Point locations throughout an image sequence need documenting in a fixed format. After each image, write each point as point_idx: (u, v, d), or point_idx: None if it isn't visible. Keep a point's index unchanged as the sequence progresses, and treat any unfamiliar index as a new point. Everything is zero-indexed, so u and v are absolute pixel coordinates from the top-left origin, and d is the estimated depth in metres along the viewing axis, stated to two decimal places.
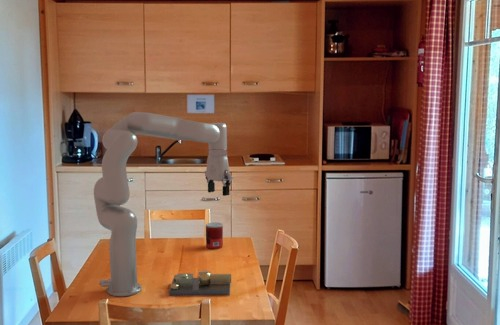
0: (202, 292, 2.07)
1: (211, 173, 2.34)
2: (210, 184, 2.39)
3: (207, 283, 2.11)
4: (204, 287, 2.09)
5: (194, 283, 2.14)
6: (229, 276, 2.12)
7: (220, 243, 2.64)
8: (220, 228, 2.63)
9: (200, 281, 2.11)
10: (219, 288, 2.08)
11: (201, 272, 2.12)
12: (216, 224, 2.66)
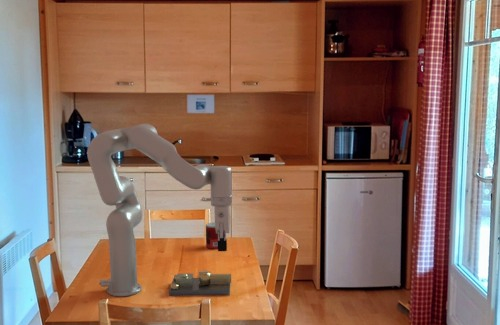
0: (202, 292, 2.07)
1: None
2: None
3: (207, 283, 2.11)
4: (204, 287, 2.09)
5: (194, 283, 2.14)
6: (229, 276, 2.12)
7: None
8: None
9: (200, 281, 2.11)
10: (219, 288, 2.08)
11: (201, 272, 2.12)
12: None
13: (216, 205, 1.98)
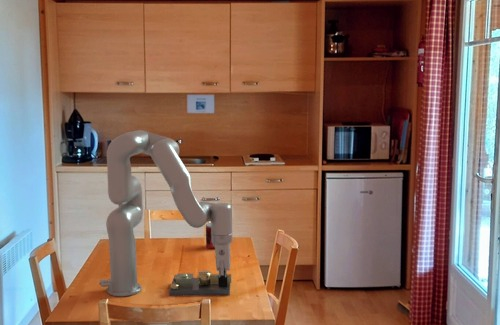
0: (202, 292, 2.07)
1: None
2: None
3: (207, 283, 2.11)
4: (204, 287, 2.09)
5: (194, 283, 2.14)
6: (229, 276, 2.12)
7: None
8: None
9: (200, 281, 2.11)
10: (219, 288, 2.08)
11: (201, 272, 2.12)
12: None
13: (217, 243, 2.00)
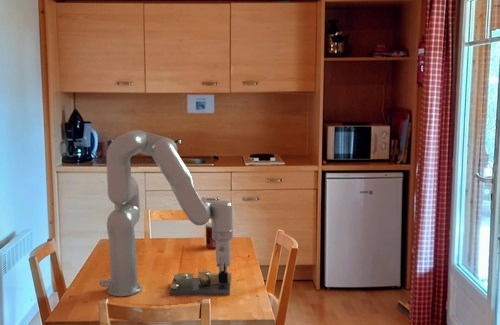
0: (202, 292, 2.07)
1: (230, 257, 2.09)
2: None
3: (208, 283, 2.11)
4: (204, 287, 2.09)
5: (194, 283, 2.14)
6: (229, 275, 2.13)
7: None
8: None
9: (200, 281, 2.11)
10: (219, 288, 2.08)
11: (201, 272, 2.12)
12: None
13: (217, 239, 2.05)
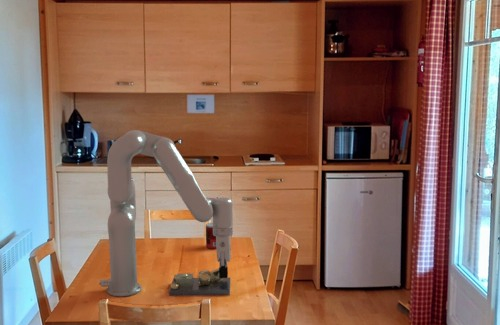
0: (202, 292, 2.07)
1: (230, 252, 2.15)
2: None
3: (210, 281, 2.13)
4: (204, 287, 2.09)
5: (194, 283, 2.14)
6: None
7: None
8: None
9: (205, 281, 2.11)
10: (219, 288, 2.08)
11: (203, 273, 2.11)
12: None
13: (218, 235, 2.11)
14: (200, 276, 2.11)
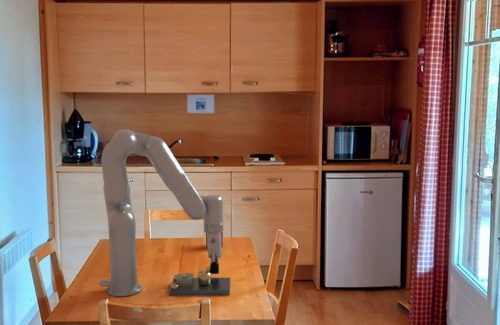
0: (202, 292, 2.07)
1: (221, 249, 2.19)
2: None
3: None
4: (204, 287, 2.09)
5: (194, 283, 2.14)
6: None
7: None
8: None
9: (208, 281, 2.11)
10: (219, 288, 2.08)
11: (205, 273, 2.11)
12: None
13: (208, 232, 2.15)
14: (203, 276, 2.10)
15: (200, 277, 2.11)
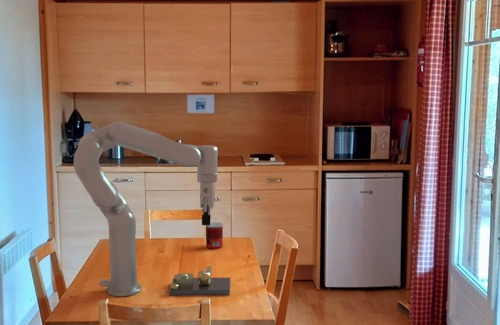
0: (202, 292, 2.07)
1: (213, 200, 2.16)
2: None
3: None
4: (204, 287, 2.09)
5: (194, 283, 2.14)
6: (211, 267, 2.22)
7: (220, 243, 2.64)
8: (220, 228, 2.63)
9: (208, 281, 2.11)
10: (219, 288, 2.08)
11: (205, 273, 2.11)
12: (216, 224, 2.66)
13: (202, 181, 2.13)
14: (203, 276, 2.10)
15: (200, 277, 2.11)
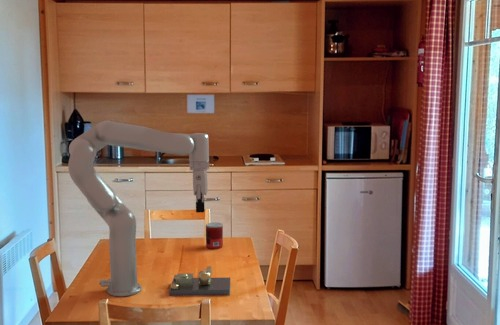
0: (202, 292, 2.07)
1: None
2: None
3: None
4: (204, 287, 2.09)
5: (194, 283, 2.14)
6: (211, 267, 2.22)
7: (220, 243, 2.64)
8: (220, 228, 2.63)
9: (208, 281, 2.11)
10: (219, 288, 2.08)
11: (205, 273, 2.11)
12: (216, 224, 2.66)
13: (194, 169, 2.15)
14: (203, 276, 2.10)
15: (200, 277, 2.11)
